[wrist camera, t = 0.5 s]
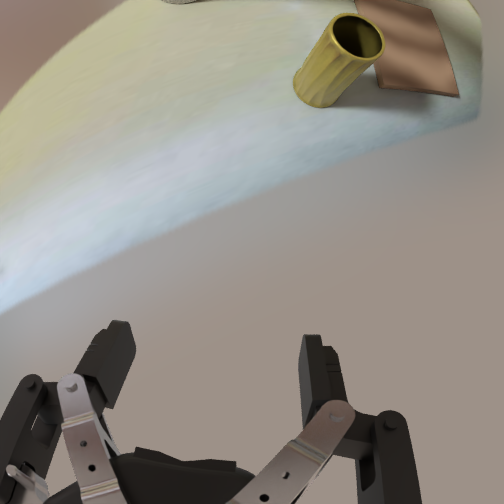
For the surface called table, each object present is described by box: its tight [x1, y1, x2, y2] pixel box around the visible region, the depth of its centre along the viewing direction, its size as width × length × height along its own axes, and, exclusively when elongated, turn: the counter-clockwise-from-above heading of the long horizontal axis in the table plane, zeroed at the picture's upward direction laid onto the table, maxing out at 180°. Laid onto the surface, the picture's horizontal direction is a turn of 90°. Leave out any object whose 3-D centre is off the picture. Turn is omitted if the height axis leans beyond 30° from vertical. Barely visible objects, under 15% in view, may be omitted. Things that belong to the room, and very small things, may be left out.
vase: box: [293, 13, 386, 108], centre depth 26 cm, size 6×6×14 cm
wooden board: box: [354, 0, 459, 97], centre depth 32 cm, size 16×14×2 cm
